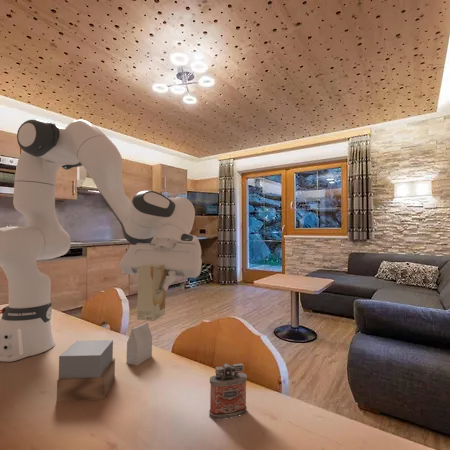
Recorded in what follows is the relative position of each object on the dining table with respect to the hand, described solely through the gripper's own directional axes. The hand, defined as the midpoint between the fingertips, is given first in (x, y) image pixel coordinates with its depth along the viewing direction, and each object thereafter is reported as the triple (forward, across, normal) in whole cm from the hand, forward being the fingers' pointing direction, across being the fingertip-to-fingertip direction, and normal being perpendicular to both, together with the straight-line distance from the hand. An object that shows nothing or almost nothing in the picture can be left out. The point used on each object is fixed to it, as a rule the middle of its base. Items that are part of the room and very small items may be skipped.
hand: (151, 288), depth 65 cm
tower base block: (+18, -16, +18) cm, 30 cm away
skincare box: (+4, 0, +5) cm, 7 cm away
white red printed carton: (+6, -11, +30) cm, 33 cm away
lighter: (+18, +19, +17) cm, 31 cm away
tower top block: (+14, -16, +15) cm, 26 cm away
